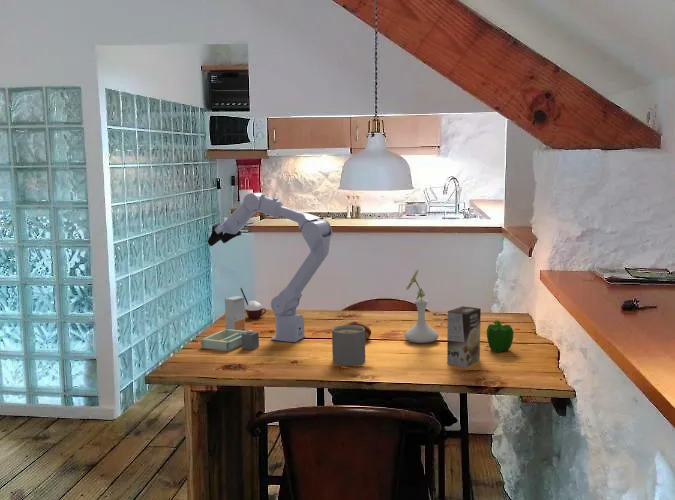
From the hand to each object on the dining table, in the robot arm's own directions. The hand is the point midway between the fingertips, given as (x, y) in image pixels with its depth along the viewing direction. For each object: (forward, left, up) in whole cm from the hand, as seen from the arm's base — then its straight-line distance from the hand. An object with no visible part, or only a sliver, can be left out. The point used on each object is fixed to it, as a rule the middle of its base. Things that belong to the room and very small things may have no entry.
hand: (216, 242), depth 235 cm
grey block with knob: (-22, +14, -32) cm, 42 cm away
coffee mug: (-58, +13, -33) cm, 67 cm away
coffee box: (-91, +3, -32) cm, 96 cm away
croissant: (-51, -8, -33) cm, 61 cm away
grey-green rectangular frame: (-13, +13, -32) cm, 37 cm away
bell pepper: (-98, -13, -33) cm, 104 cm away
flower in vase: (-72, -13, -32) cm, 80 cm away
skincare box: (-5, -3, -32) cm, 33 cm away
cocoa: (-1, -21, -33) cm, 39 cm away
